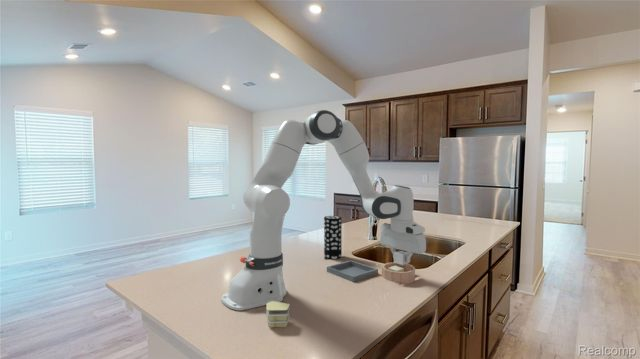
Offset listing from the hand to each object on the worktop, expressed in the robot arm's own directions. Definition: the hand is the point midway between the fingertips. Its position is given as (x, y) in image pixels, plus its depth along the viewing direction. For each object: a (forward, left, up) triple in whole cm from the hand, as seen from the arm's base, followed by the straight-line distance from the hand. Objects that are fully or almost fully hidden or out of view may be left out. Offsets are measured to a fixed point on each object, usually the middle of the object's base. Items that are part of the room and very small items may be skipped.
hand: (401, 260), depth 133 cm
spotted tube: (-4, +37, -7) cm, 38 cm away
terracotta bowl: (-2, 0, -7) cm, 7 cm away
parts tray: (-13, +15, -7) cm, 21 cm away
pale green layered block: (-59, 0, -8) cm, 59 cm away
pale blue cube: (0, 0, -1) cm, 1 cm away
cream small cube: (-4, 0, -6) cm, 7 cm away
